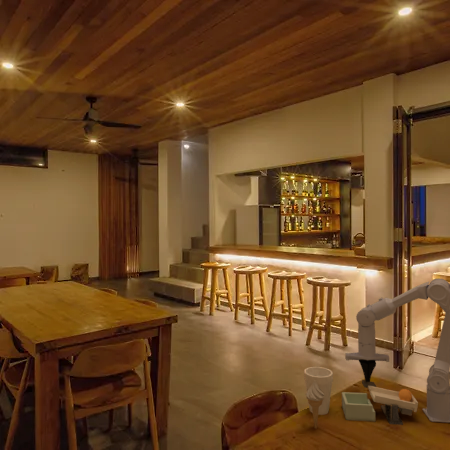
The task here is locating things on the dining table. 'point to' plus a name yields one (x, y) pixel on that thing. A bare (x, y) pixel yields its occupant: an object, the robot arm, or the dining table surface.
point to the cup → (357, 407)
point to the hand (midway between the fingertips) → (367, 380)
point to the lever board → (391, 398)
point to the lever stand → (392, 414)
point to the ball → (405, 395)
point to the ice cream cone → (315, 400)
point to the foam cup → (320, 385)
